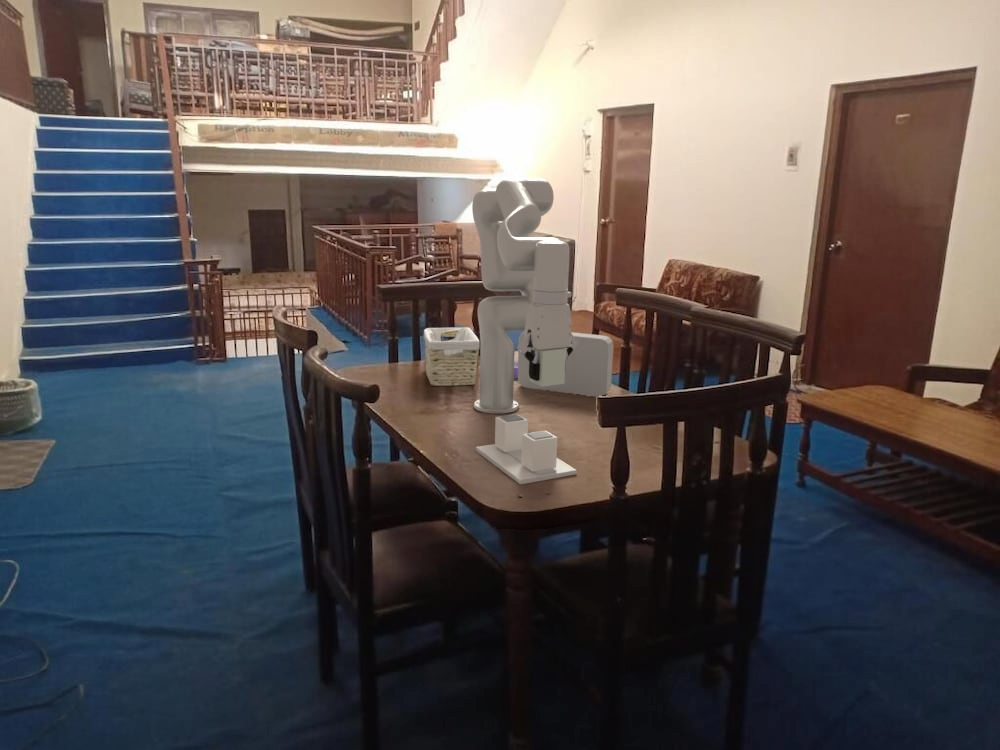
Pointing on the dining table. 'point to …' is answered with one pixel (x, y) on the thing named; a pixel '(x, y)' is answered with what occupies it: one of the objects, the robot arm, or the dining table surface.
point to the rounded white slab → (578, 367)
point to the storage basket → (451, 356)
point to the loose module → (551, 367)
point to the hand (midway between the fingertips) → (547, 377)
